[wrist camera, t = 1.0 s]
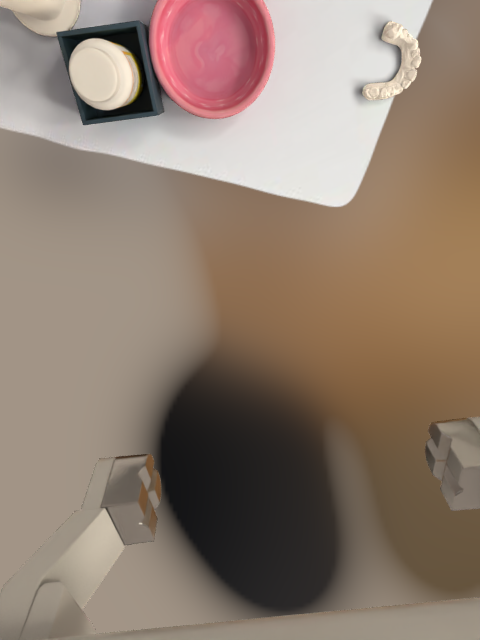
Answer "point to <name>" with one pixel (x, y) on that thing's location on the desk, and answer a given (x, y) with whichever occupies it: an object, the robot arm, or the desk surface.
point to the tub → (138, 42)
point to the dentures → (407, 69)
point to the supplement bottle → (106, 74)
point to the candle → (45, 14)
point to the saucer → (212, 53)
